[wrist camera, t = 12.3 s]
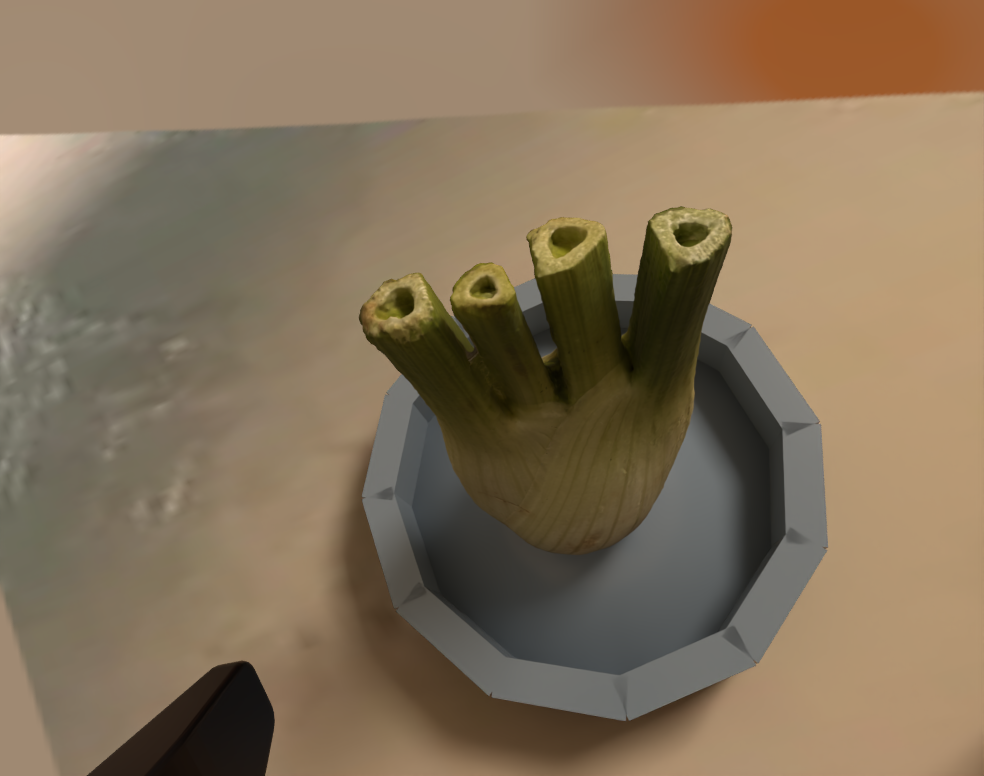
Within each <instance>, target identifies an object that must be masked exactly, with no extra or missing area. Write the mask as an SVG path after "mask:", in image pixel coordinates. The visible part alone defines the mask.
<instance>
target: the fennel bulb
mask: <svg viewBox="0 0 984 776" xmlns="http://www.w3.org/2000/svg"><path fill="white" fill-rule="evenodd" d="M731 236H732V225H731V223H730V219H729V217H728V216H727V215H725V214H723V213H722V212H719V211H716V210H712V209H705V210H697V209H692V208H685V207H682V206H681V207H678V208H670V209H668V210H665V211H662V212H660V213H656V214H654V216H653V217H652V219H650V220H649V221H648V225H647V229H646V235H645V241H644V246H643V253H642V257H641V260H640V266H639V270H638V276H637V282H636V287H635V293H634V297H635V298H634V302H633V309H632V315H631V317H630V320H629V327H628V331H627V332H626V333H625V334H624V335H622V336H621V328H620V320H619V316H618V310H617V305H616V301H615V294H614V288H613V273H612V270H611V262H610V254H609V250H608V241H607V234H606V231H605V228H604V227H603V225H602V224H600V223H598V222H595V221H588V220H584V219H581V218H564V217H560V218H558V219H551V220H549V221H548V222H547V223H546V224H545V225H543V226H541V227H539V228H537V229H533V230H531V231H530V232H529V233H528V235H527V237H526V238H527V241H528V242H529V247H530V253H531V256H532V261H533V264H534V275H535V279H536V282H537V287H538V289H539V292H540V295H541V301H542V303H543V306H544V310H545V314H546V320H547V322H548V323H549V327H550V334H551V337H552V340H553V342H554V343H555V344H556V346H557V348H556V349H555V350H554V351H553V352H552V353H550V354H548V355H546V356H544V357H542V358H541V355H540V353H539V350H538V347H537V345H536V342H535V340H534V338H533V336H532V333H531V331H530V328H529V327H528V325H527V322H526V320H525V316H524V315H523V313H522V310H521V308H520V305H519V302H518V300H517V296H516V292H515V289H514V287H513V286H512V284H511V283H510V281H509V279H508V277H507V275H506V273H505V271H504V269H503V267H501V266H499V265H495V264H494V263H480V264H477V265H475V266H474V267H473V268H472V269H470V270H469V271H467V272H465V273H464V274H463V275H462V276H461V277H460V279H459V280H458V281H457V282H456V284H455V285H454V287H453V294H452V296H451V297H450V301H451V305H452V311H453V313H454V316H455V317H456V319H457V320H458V321H459V322H460V323H461V324H462V327H463V328H464V330H465V331H466V332H467V333H468V335H469V337H470V339H471V341H472V342H473V344H474V348H473V346H472V345H471V344H470V342H469V341H468V339H467V337H466V336H465V334H464V333H463V331H462V330H461V329H460V327H459V326H458V325H457V323H456V322H455V321H454V319H453V318H452V317H451V316H450V315H449V314H448V312H447V311H446V309H445V308H444V306H443V304H442V303H441V302H440V300H439V299H438V297H437V296H436V294H435V293H434V291H433V290H432V288H431V286H430V285H429V284H428V283H427V282H426V280H425V279H424V277H423V275H422V274H421V273H413V274H409V275H406V276H405V277H403V278H401V279H398V280H393V279H390V280H388V281H385V282H383V284H382V286H381V287H379V289H378V290H377V291H376V292H375V293H374V294H373V295H372V296H371V297H370V299H369V300H368V301H367V302H366V303H364V304H363V306H362V308H361V310H360V315H359V321H360V323H361V325H362V326H363V332H364V333H365V335H366V338H367V340H368V341H369V342H370V343H371V344H373V345H375V346H376V348H377V349H378V350H379V351H381V352H382V353H383V354H385V356H386V357H387V358H388V359H389V360H390V361H391V363H392V364H393V365H394V366H395V368H396V369H397V370H398V371H399V372H400V373H401V374H402V375H403V376H404V377H405V378H406V379H407V380H408V381H409V382H410V383H411V384H412V386H413V388H414V389H415V390H416V391H417V393H418V394H419V395H420V396H421V398H422V399H423V400H424V401H425V403H426V405H427V406H429V408H430V409H431V410H432V412H433V413H434V414H435V415H436V417H437V420H438V423H439V425H440V427H441V431H442V434H443V439H444V442H445V446H446V450H447V453H448V457H449V460H450V462H451V464H452V468H453V470H454V472H455V473H456V475H457V476H458V478H459V479H460V482H461V483H462V485H463V487H464V488H465V490H466V492H467V493H468V494H469V495H470V497H471V498H472V500H473V501H474V502H475V504H476V505H477V506H479V507H480V508H481V509H482V510H483V511H485V512H486V513H488V514H489V515H490V516H492V517H493V518H495V519H496V520H498V521H500V522H501V523H503V524H504V525H506V526H507V527H508V528H510V529H511V530H512V531H513V532H515V533H516V534H517V535H518V536H519V537H520V538H522V539H523V540H524V541H526V542H527V543H528V544H530V545H532V546H534V547H536V548H538V549H542V550H544V551H547V552H551V553H558V554H567V555H583V554H588V553H591V552H594V551H598V550H602V549H605V548H608V547H610V546H612V545H614V544H616V543H618V542H619V541H620V540H622V539H623V538H625V537H626V536H628V535H629V534H630V533H631V532H633V531H634V530H635V529H636V528H637V527H638V526H639V525H640V524H641V523H642V521H643V520H644V519H645V518H646V517H647V515H648V513H649V512H650V510H651V509H652V507H653V505H654V503H655V501H656V500H657V498H658V496H659V495H660V493H661V490H662V489H663V488H664V484H665V481H666V480H667V477H668V475H669V473H670V471H671V468H672V466H673V464H674V462H675V460H676V457H677V454H678V452H679V450H680V448H681V445H682V443H683V441H684V438H685V436H686V432H687V430H688V426H689V425H690V420H691V415H692V412H693V409H694V395H695V391H694V377H695V372H696V371H695V369H696V363H697V357H698V353H699V345H700V340H701V339H700V337H701V331H702V327H703V322H704V319H705V315H706V313H707V310H708V306H709V303H710V300H711V297H712V294H713V291H714V287H715V285H716V282H717V279H718V276H719V273H720V270H721V268H722V266H723V262H724V259H725V257H726V254H727V251H728V248H729V246H730V242H731Z"/></svg>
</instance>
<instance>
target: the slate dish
mask: <svg viewBox="0 0 984 776" xmlns="http://www.w3.org/2000/svg"><path fill="white" fill-rule="evenodd" d="M637 276H638V275H624V274H613V288H614V294H615V301H616V305H617V310H618V316H619V320H620V328H621V336H622V335H624V334H625V333H626V332H627V331H628V327H629V320H630V317H631V315H632V309H633V302H634V298H635V297H634V293H635V287H636V282H637ZM514 289H515V292H516V296H517V300H518V302H519V305H520V308H521V310H522V313H523V315H524V316H525V320H526V322H527V325H528V327H529V328H530V331H531V333H532V336H533V338H534V340H535V342H536V345H537V347H538V350H539V353H540V355H541V358H542V357H544V356H546V355H548V354H550V353H552V352H553V351H554V350H555V349H556V348H557V346H556V344H555V343H554V342H553V340H552V337H551V334H550V327H549V323H548V322H547V320H546V314H545V310H544V306H543V303H542V301H541V295H540V292H539V289H538V287H537V282H536V279H535V278H534V279H532V280H530V281H528V282H525V283H523V284H521V285H519V286H516V287H514ZM451 317H452V318H453V319H454V321H455V322H456V323H457V325H458V326H459V327H460V329H461V330H462V331H463V333H464V334H465V336H466V337H467V339H468V341H469V342H470V344H471V345H472V346H473V348H474V344H473V342H472V341H471V339H470V337H469V335H468V333H467V332H466V331H465V330H464V328H463V327H462V324H461V323H460V322H459V321H458V320H457V319H456V317H455V316H454V317H455V318H454V317H453V316H451ZM700 339H701V340H700V345H699V353H698V357H697V363H696V369H695V371H696V372H695V377H694V391H695V395H694V409H693V412H692V415H691V420H690V425H689V426H688V430H687V432H686V436H685V438H684V441H683V443H682V445H681V448H680V450H679V452H678V454H677V457H676V460H675V462H674V464H673V466H672V468H671V471H670V473H669V475H668V477H667V480H666V481H665V484H664V488H663V489H662V490H661V493H660V495H659V496H658V498H657V500H656V501H655V503H654V505H653V507H652V509H651V510H650V512H649V513H648V515H647V517H646V518H645V519H644V520H643V521H642V523H641V524H640V525H639V526H638V527H637V528H636V529H635V530H634V531H633V532H631V533H630V534H629V535H628V536H626V537H625V538H623V539H622V540H620V541H619V542H618V543H616V544H614V545H612V546H610V547H608V548H605V549H602V550H598V551H594V552H591V553H588V554H583V555H567V554H558V553H551V552H547V551H544V550H542V549H538V548H536V547H534V546H532V545H530V544H528V543H527V542H526V541H524V540H523V539H522V538H520V537H519V536H518V535H517V534H516V533H515V532H513V531H512V530H511V529H510V528H508V527H507V526H506V525H504V524H503V523H501V522H500V521H498V520H496V519H495V518H493V517H492V516H490V515H489V514H488V513H486V512H485V511H483V510H482V509H481V508H480V507H479V506H477V505H476V504H475V502H474V501H473V500H472V498H471V497H470V495H469V494H468V493H467V492H466V490H465V488H464V487H463V485H462V483H461V482H460V479H459V478H458V476H457V475H456V473H455V472H454V470H453V468H452V464H451V462H450V460H449V457H448V453H447V450H446V446H445V442H444V439H443V434H442V431H441V427H440V425H439V423H438V420H437V417H436V415H435V414H434V413H433V412H432V410H431V409H430V408H429V406H427V405H426V403H425V401H424V400H423V399H422V398H421V396H420V395H419V394H418V393H417V391H416V390H415V389H414V388H413V386H412V384H411V383H410V382H409V381H408V380H407V379H406V378H405V377H404V376H403V375H401V376H400V377H399V378H398V379H397V380H396V382H395V383H394V384H393V385H392V386H391V388H390V389H389V390H388V391H387V392H386V393H387V394H388V395H385V397H384V402H383V406H382V411H381V415H380V419H379V424H378V428H377V432H376V437H375V441H374V445H373V450H372V454H371V458H370V463H369V467H368V471H367V476H366V480H365V485H364V489H363V493H362V498H364V499H362V502H363V506H364V509H365V512H366V516H367V519H368V522H369V526H370V529H371V532H372V536H373V539H374V543H375V546H376V549H377V553H378V556H379V559H380V563H381V566H382V569H383V573H384V576H385V580H386V583H387V586H388V590H389V593H390V596H391V600H392V603H393V606H394V609H397V610H396V612H397V613H398V614H399V615H400V616H402V617H403V618H404V619H405V620H406V621H407V622H408V623H409V624H410V625H411V626H413V627H414V628H415V629H416V630H417V631H418V632H419V633H420V634H421V635H422V636H424V637H425V638H426V639H427V640H428V641H429V642H430V643H431V644H432V645H433V646H435V647H436V648H437V649H438V650H439V651H440V652H441V653H442V654H443V655H444V656H445V657H447V658H448V659H449V660H450V661H451V662H452V663H453V664H454V665H455V666H456V667H458V668H459V669H460V670H461V671H462V672H463V673H464V674H465V675H466V676H467V677H469V678H470V679H471V680H472V681H473V682H474V683H475V684H476V685H477V686H478V687H479V688H481V689H482V690H483V691H484V692H485V693H486V694H487V695H488V696H491V695H492V698H498V699H503V700H509V701H515V702H520V703H526V704H532V705H537V706H543V707H548V708H554V709H560V710H565V711H571V712H577V713H582V714H588V715H593V716H599V717H605V718H610V719H616V720H622V721H626V715H627V717H628V719H629V721H630V720H632V719H635V718H637V717H639V716H641V715H644V714H646V713H648V712H651V711H653V710H655V709H657V708H660V707H662V706H664V705H667V704H669V703H671V702H673V701H676V700H678V699H680V698H683V697H685V696H687V695H689V694H692V693H694V692H696V691H699V690H701V689H703V688H706V687H708V686H710V685H712V684H715V683H717V682H719V681H722V680H724V679H726V678H728V677H731V676H733V675H735V674H738V673H740V672H742V671H744V670H747V669H749V668H751V667H754V666H756V664H755V663H759V662H760V660H761V658H762V657H763V655H764V653H765V652H766V650H767V648H768V647H769V645H770V644H771V642H772V640H773V639H774V637H775V635H776V634H777V632H778V630H779V629H780V627H781V625H782V624H783V622H784V621H785V619H786V617H787V616H788V614H789V612H790V611H791V609H792V607H793V606H794V604H795V602H796V601H797V599H798V598H799V596H800V594H801V593H802V591H803V589H804V588H805V586H806V584H807V583H808V581H809V579H810V578H811V576H812V575H813V573H814V571H815V570H816V568H817V566H818V565H819V563H820V561H821V560H822V558H823V557H824V555H825V553H826V552H827V550H826V548H828V539H827V521H826V504H825V486H824V469H823V451H822V434H821V424H818V423H819V422H820V421H819V419H818V418H817V416H816V415H815V414H814V412H813V411H812V409H811V408H810V406H809V405H808V404H807V402H806V401H805V399H804V398H803V396H802V395H801V394H800V392H799V391H798V389H797V388H796V386H795V385H794V384H793V382H792V381H791V379H790V378H789V376H788V375H787V374H786V372H785V371H784V369H783V368H782V366H781V365H780V364H779V362H778V361H777V359H776V358H775V356H774V355H773V354H772V352H771V351H770V349H769V348H768V346H767V345H766V344H765V342H764V341H763V339H762V338H761V336H760V335H759V334H758V332H757V331H756V329H755V328H754V327H752V328H751V324H749V323H747V322H745V321H743V320H741V319H739V318H737V317H735V316H733V315H731V314H729V313H727V312H725V311H723V310H721V309H719V308H717V307H715V306H713V305H711V304H709V306H708V310H707V313H706V315H705V319H704V322H703V327H702V331H701V337H700Z"/></svg>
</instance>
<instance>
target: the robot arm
mask: <svg viewBox="0 0 984 776" xmlns="http://www.w3.org/2000/svg"><path fill="white" fill-rule="evenodd" d="M274 723H275V719H274V711H273V708H272V705H271V703H270V701H269V698H268V696H267V694H266V692H265V690H264V688H263V686H262V684H261V682H260V680H259V678H258V675H257V673H256V671H255V669H254V668H253V666H252V665H251V664H250V663H249V662H247V661H238V662H233V663H227V664H222V665H218V666H216V667H214V668H212V669H211V670H210V671H209V672H207V673H206V674H205V675H204V676H203V677H202V678H200V679H199V680H198V681H197V682H196V683H195V684H193V685H192V686H191V687H190V688H189V689H187V690H186V691H185V692H184V693H183V694H182V695H180V696H179V697H178V698H177V699H176V700H175V701H173V702H172V703H171V704H170V705H169V706H168V707H166V708H165V709H164V710H163V711H162V712H161V713H159V714H158V715H157V716H156V717H155V718H154V719H152V720H151V721H150V722H149V723H148V724H147V725H145V726H144V727H143V728H142V729H141V730H140V731H138V732H137V733H136V734H135V735H134V736H133V737H131V738H130V739H129V740H128V741H127V742H126V743H124V744H123V745H122V746H121V747H120V748H119V749H117V750H116V751H115V752H114V753H113V754H112V755H110V756H109V757H108V758H107V759H106V760H105V761H103V762H102V763H101V764H100V765H99V766H98V767H96V768H95V769H94V770H93V771H92V772H91V773H89V774H88V775H87V776H265V773H266V768H267V763H268V758H269V753H270V748H271V742H272V737H273V732H274Z"/></svg>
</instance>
